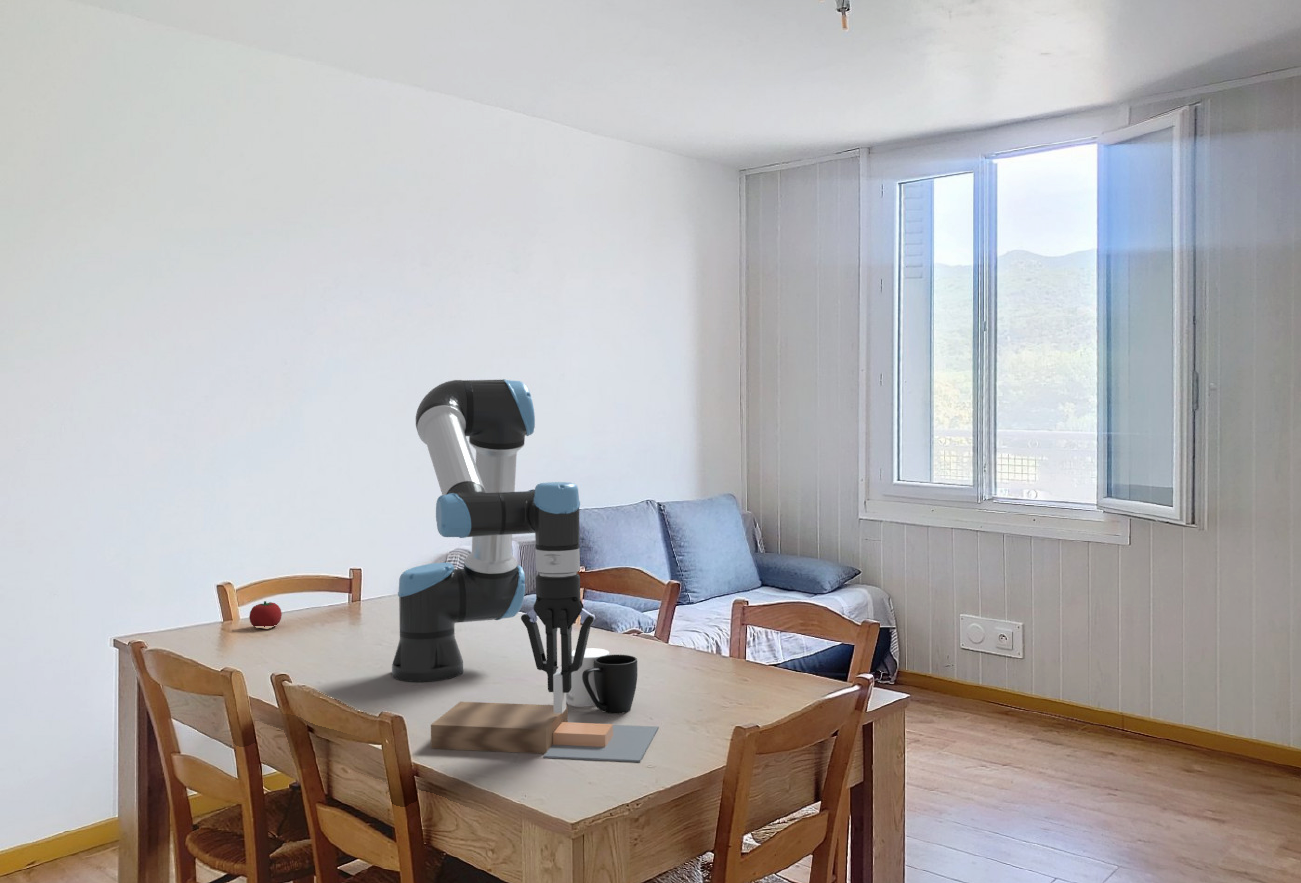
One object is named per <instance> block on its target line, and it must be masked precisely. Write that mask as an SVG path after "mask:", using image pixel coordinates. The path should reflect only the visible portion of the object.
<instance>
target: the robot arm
mask: <svg viewBox="0 0 1301 883" xmlns="http://www.w3.org/2000/svg"><path fill="white" fill-rule="evenodd" d="M415 414H416V415H415V428H416V431H417V435H418V437H419V439H420V440H421V441H422V442H423V443H424V444H425V445H426V447H427V450H428V453H429V456H430V459H431V463H432V467H433V469H434V473H435V475H436V478H437V483H438V485H439V488H440V492H441V495H440V496H438V498H437V500H436V504H435V521H436V529H437V532H438V534H439V535H440V536H441V537H443V538H460V539H466V538H472V540H471V552H470V553H469V554H468V555H467V556H466V557H465V559H464V562H463V568H455V566H454V564H453V563H451V562H433V563H428V564H423V565H419V566H414V567H411V568H407V570H405V571H403V572H402V573H401V574H400V576H399V580H398V592H397V597H398V603H399V604H398V605H399V607H398V608H399V609H398V611H399V613H398V614H399V640H398V641H399V642H398V645H397V647H396V651H395V654H394V658H393V661H392V664H391V677H393V678H394V679H396V680H399V681H404V682H418V683H419V682H434V681H435V682H436V681H442V680H448V679H451V678H455V677H457V676H460V675H462V674H463V672H464V659H463V657H462V655H461V651H460V648H459V645H458V642H457V639H456V636H455V635H456V634H455V624H457V623H458V624H459V623H469V622H470V623H471V622H482V621H483V622H484V621H493V620H494V621H500V620H502V619H503V620H504V619H509V618H514V617H515V616H517V614H519V612H520V611H521V609H522V606H523V603H524V600H525V593H526V584H525V582H526V575H525V571H524V569H523V567H522V566H521V565H519V564H518V559H517V558H516V557H515V556H514V555H513V554H512V547H513V546H512V545H513V535H525V534H529V535H530V534H534V535H535V536H534V538H535V540H534V541H535V572H537V573H539V574H537V576H536V577H535V598H536V599H535V602H534V604H533V608H532V609H531V610H530V611H526V612H525V613H523V614H522V615H520V620H521V621H522V623H523V625H524V626H525V628H526V631H527V634H528V639H529V642H530V646H531V650H532V654H533V659H534V663H535V666H536V669H537V670H538V671H543V672H545V673H546V674H547V691H548V693H553V694H552V696H553V705H554V713H563V712H564V711H565V710H566V706H567V702H566V693H569V692H570V690H571V688H572V685H571V673H572V672H574V671H577V670H578V669H579V668H580V667H581V666H582V663H583V659H584V654H585V650H586V648H587V645H588V640H589V637H590V636H589V635H590V631H591V627H592V625H593V623H594V622H595V621H596V619H597V615H596V613H594V612H593V613H591V612H589V611H588V610H586V609H585V608H584V604H583V602H582V598H581V576H580V574H579V573H577V572H579V571H580V570H581V561H580V560H581V559H580V554H581V553H580V551H581V550H580V507H581V501H580V495H579V488H578V485H577V484H576V483H575V482H564V481H562V482H561V481H557V482H556V481H554V482H553V481H552V482H551V481H550V482H540V483H538V484H537V485H535V487H534V489H530V490H526V491H525V490H523V491H515V489H516V474H517V473H516V472H517V454H518V451H520V450H521V449H522V448H523V447H524V446H525V439H526V438H525V437H529V436H532V435H533V433H534V432H535V430H534V429H535V428H536V427H535V426H536V424H535V423H536V419H535V416H536V415H535V409H534V403H533V399H532V394H531V392H530V390H529V388H528V386H527V385H526V384H525V383H524V382H523V381H520V380H511V379H509V380H508V379H504V378H503V379H473V380H472V379H471V380H470V379H469V380H468V379H467V380H462V379H453V380H448V381H446V382H445V381H444V382H442V383H439V384H438V385H437V386H435V387H434V388H432V389H431V390H430V391H428V392H427V394H426V395H425V396H424V397H423V398H422V400H421V402H420V403H419V405H418V407H417V410H416V413H415ZM467 437H469V438H468V440H469V441H468V440H467ZM470 445H471V447H472V448H473V449H475V459H474V456H473V453H472V451H471V448H470ZM578 617H580V623H581V624H582V625H581V626H580V629H579V634H578V636H577V637H578V638H577V642H576V647H575V650H576V651H575V655H574V660H573V663H572V651H573V650H572V646H573V645H572V641H573V640H572V632H573V626H574V624H575V622H576V621H577V619H579V618H578ZM538 619H539V620H540V621H541V623H542V624H543V625H544V626H545V627H544V628H545V629H544V630H545V637H546V639H545V641H546V645H545V646H546V651H545V650H544V649H545V648H544V645H543V640H542V637H541V634H540V632H541V631H540V630H539V625H538V623H537V622H538ZM558 629H559V633H560V651H561V652H560V654H561V656H560V657H561V658H560V659H561V669H562V671H561V670H558V669H559V666H558ZM545 652H546V654H545Z"/></svg>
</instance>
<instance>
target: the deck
mask: <svg viewBox="0 0 1301 883" xmlns="http://www.w3.org/2000/svg"><path fill="white" fill-rule="evenodd" d="M568 706H569V705H566V710H565V711H564V712H563V713H554V704H531V703H505V702H504V703H502V702H478V701H476V702H475V701H474V702H473V701H459V702H458V703H456V704H455V705H454V706H453V707H452V708H450V709H449V710H447V712H445V713H444V714H442V716H440V717H439V718H438V719H436V720H435V721H433V722H432V723H430V741H431V742H430V746H431V747H430V749H436V750H438V749H439V750H455V751H457V750H461V751H479V752H480V751H481V752H483V751H484V752H502V753H525V754H543V755H544V754H545V753H546V752H547V751H548V750H549V748H550V747H551V746H552V745H553V732H554V731H555V730H556V729H557V728H558V726H559V725H560V724H561V723H562V722H569V718H568V717H569V715H568V714H569V713H568V712H569V711H568V709H569V708H568Z"/></svg>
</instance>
